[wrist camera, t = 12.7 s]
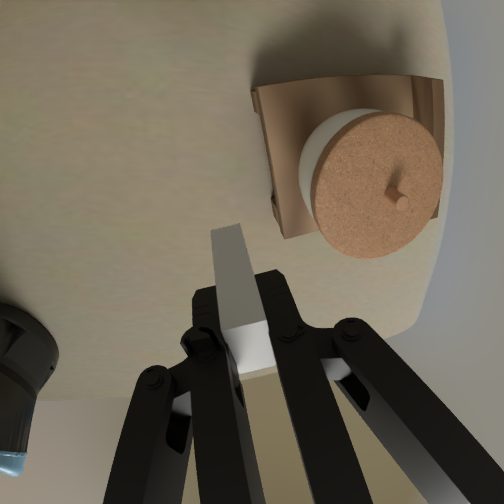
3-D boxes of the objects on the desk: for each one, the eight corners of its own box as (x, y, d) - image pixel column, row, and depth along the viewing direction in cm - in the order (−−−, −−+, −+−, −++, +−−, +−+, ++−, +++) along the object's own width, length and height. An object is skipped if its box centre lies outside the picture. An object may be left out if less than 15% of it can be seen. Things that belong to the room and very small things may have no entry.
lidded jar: (338, 232, 28) (385, 294, 21) (255, 169, 24) (287, 221, 16) (407, 154, 25) (474, 193, 17) (337, 73, 20) (409, 81, 12)
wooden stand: (274, 219, 31) (293, 257, 25) (249, 85, 23) (266, 88, 17) (401, 190, 32) (437, 217, 26) (398, 73, 24) (443, 80, 18)
